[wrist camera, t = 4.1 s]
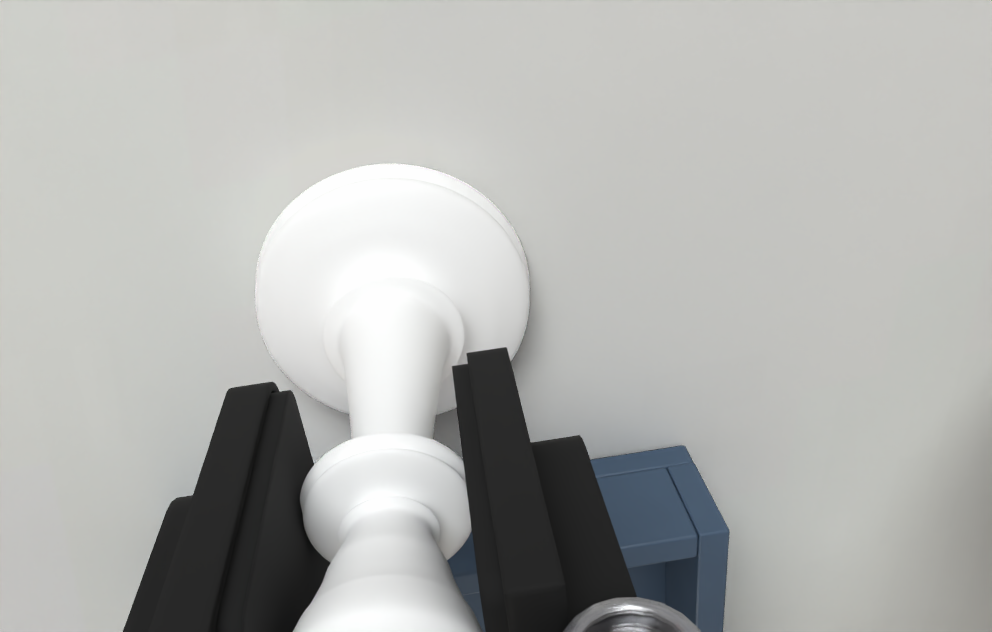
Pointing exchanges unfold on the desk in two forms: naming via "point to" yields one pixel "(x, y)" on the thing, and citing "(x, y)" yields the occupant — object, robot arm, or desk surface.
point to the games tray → (651, 535)
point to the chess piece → (388, 377)
